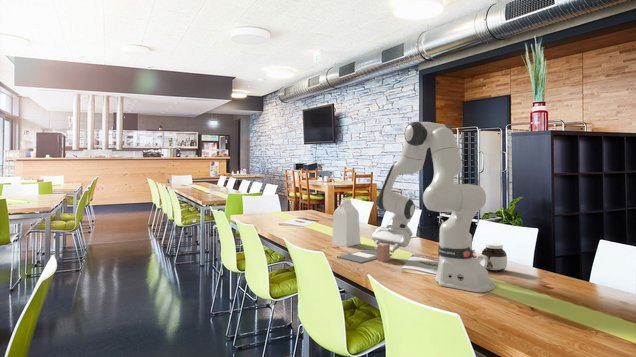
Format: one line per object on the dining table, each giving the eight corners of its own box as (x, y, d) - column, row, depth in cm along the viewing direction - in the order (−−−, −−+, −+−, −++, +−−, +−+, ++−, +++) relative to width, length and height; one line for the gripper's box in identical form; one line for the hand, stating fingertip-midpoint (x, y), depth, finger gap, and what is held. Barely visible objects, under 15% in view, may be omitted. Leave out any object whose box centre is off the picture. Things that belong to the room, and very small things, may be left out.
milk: (346, 246, 225) (346, 200, 224) (332, 243, 234) (331, 199, 233) (360, 243, 234) (360, 199, 232) (346, 240, 242) (346, 198, 241)
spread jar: (509, 270, 175) (509, 244, 174) (498, 276, 167) (498, 248, 167) (482, 265, 184) (482, 240, 183) (470, 270, 176) (470, 244, 175)
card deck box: (389, 260, 194) (389, 244, 194) (383, 262, 191) (383, 245, 190) (383, 259, 196) (383, 243, 196) (377, 260, 193) (377, 244, 193)
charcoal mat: (391, 255, 205) (391, 254, 205) (360, 263, 188) (360, 262, 188) (367, 250, 216) (367, 249, 216) (336, 257, 200) (336, 256, 200)
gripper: (376, 221, 206) (364, 243, 199) (410, 226, 191) (397, 249, 184) (382, 229, 209) (370, 250, 203) (415, 234, 194) (403, 257, 188)
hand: (383, 250), depth 193 cm, fingers open, 8 cm apart
